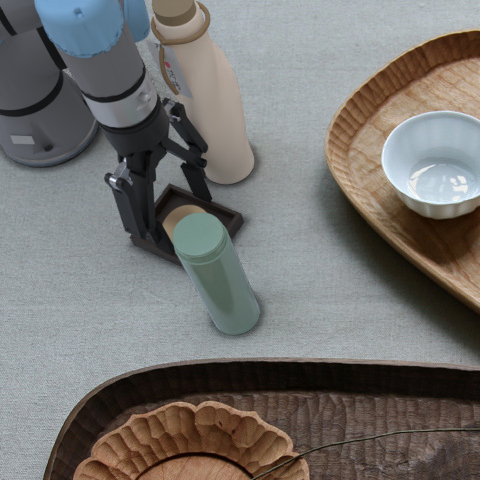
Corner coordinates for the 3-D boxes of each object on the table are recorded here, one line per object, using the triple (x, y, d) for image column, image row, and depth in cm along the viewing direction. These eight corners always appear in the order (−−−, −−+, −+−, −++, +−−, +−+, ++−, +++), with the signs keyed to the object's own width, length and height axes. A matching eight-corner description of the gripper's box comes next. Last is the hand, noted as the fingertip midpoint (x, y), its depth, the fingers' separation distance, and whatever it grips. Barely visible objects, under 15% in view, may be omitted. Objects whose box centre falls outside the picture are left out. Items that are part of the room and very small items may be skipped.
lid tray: (134, 245, 115) (128, 237, 113) (173, 191, 118) (169, 182, 116) (206, 277, 112) (202, 269, 110) (244, 221, 115) (241, 213, 113)
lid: (201, 267, 112) (195, 262, 110) (157, 247, 114) (151, 242, 112) (225, 221, 113) (221, 215, 111) (182, 202, 115) (176, 196, 113)
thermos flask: (210, 334, 108) (165, 257, 91) (216, 293, 111) (173, 210, 93) (257, 335, 108) (222, 257, 91) (262, 293, 111) (228, 210, 93)
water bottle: (249, 199, 116) (197, 42, 91) (189, 191, 117) (121, 34, 92) (265, 143, 120) (220, -22, 95) (207, 136, 121) (147, -29, 96)
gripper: (98, 187, 87) (165, 293, 108) (204, 50, 94) (248, 175, 115) (43, 163, 89) (119, 273, 110) (151, 30, 96) (203, 157, 117)
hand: (185, 222), depth 112 cm, fingers open, 9 cm apart
